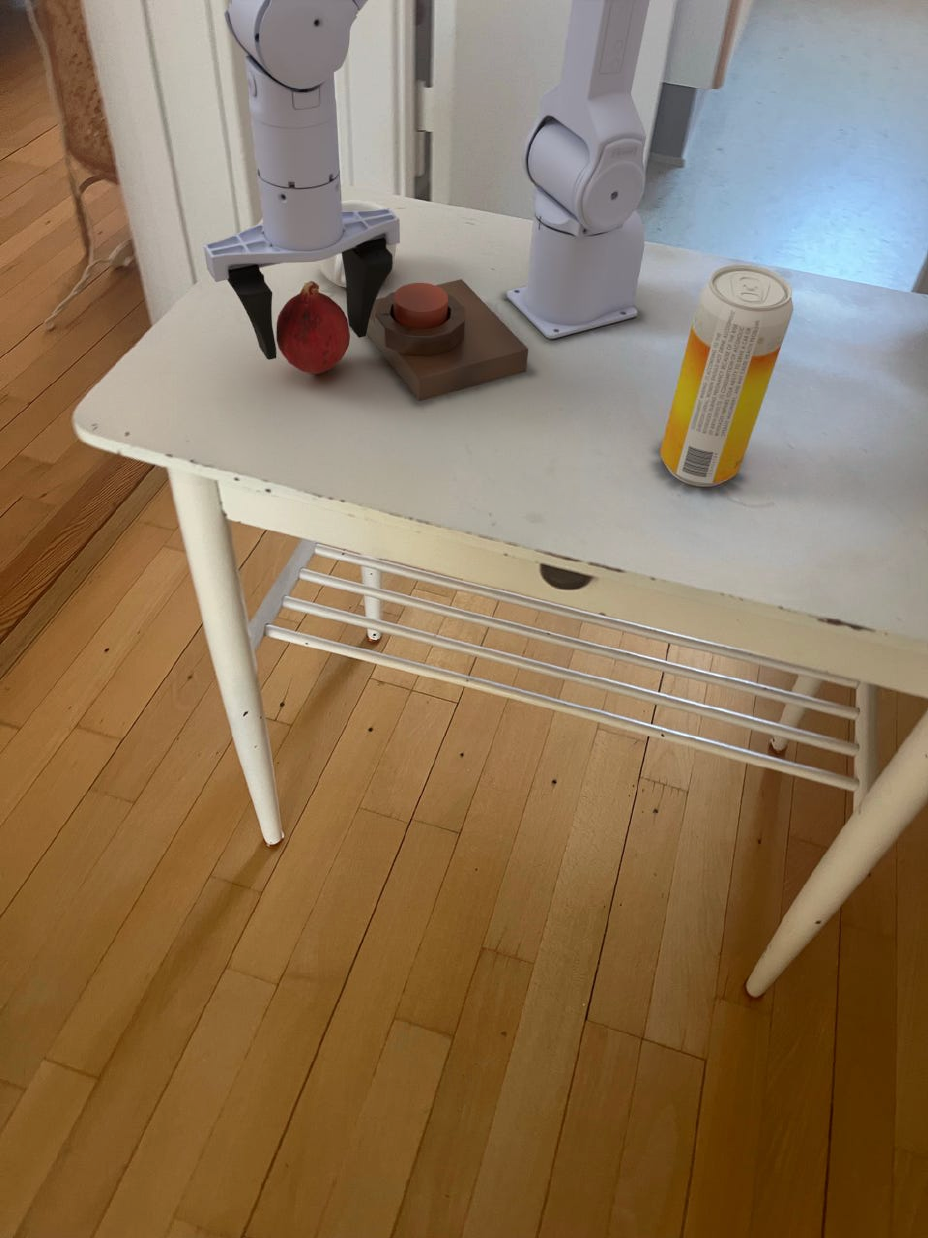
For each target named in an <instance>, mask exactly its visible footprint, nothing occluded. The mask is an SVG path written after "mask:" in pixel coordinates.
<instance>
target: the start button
mask: <svg viewBox="0 0 928 1238" xmlns="http://www.w3.org/2000/svg"><path fill="white" fill-rule="evenodd" d="M436 285H437V284H433V283H428V282H412V283H408V284H404V285H401V286H400V287H399V288H397V289H396V290H395V291H394V292H395V293H394V297H393V299H394V318H395V320H396V322H397V323H399V324H401V325H404V326H406V327H409V328H418V329H429V328H433V327H437V326H441V325H442V324H444V323H445V321H446V319H447V309H448V296H447V294H446V292H445V291H444V290H443V289H441V288H440V287H438V286H436Z"/></svg>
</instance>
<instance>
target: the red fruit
mask: <svg viewBox="0 0 928 1238" xmlns="http://www.w3.org/2000/svg"><path fill="white" fill-rule="evenodd" d="M319 289H320V285H319V284H318V283H316V282H315V281H313V280H310V281H308V282H305V283H304V285H303V286H302V289H300V293H298V294H296V295H294V296H293V297H291V298H290V299H289V300H288V301H287V302H286V303H285V304H284V306H283V307H282V308H281V309H280V312H279V314H278V316H277V320H276V331H275V332H276V337H275V341H276V343H277V346H278V349H279V351H280V353H281V354H282V356H284V358H285V359H286V361H287V362H288V363H289V364H290V365H291V366H293V367H294V368H295V369H298V370H300V371H302V372H304V373H307V374H311V375H320V374H323V373H324V372H326V371H328V370H330V369H332V368H333V367H334V366H335V365H337V364H338V363H339V362H340V361H341V360H342V359H343V357H344V356H345V354H346V352H347V350H348V348H349V346H350V339H351V334H350V326H349V322H348V316H347V314H346V313H345V311H344V309H342V307H341V306H340V305H339V304H338V303H337V302H336V301H335V300H333V299H332V298H331V297H329V296H328V295H326V294H324V293H322V292H320V291H319Z"/></svg>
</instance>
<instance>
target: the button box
mask: <svg viewBox="0 0 928 1238" xmlns="http://www.w3.org/2000/svg"><path fill="white" fill-rule="evenodd" d="M435 285H436V286H438V287H440V288H441V289H443V290H444V291H445V292H446V294H447V296H448V309H447V319H446V321H445V323H444V324H442V325H441V326H437V327H433V328H429V329H418V328H409V327H406V326H404V325H401V324H399V323H397V322H396V320H395V318H394V299H393V297H394V293H395V292H396V291H393V292H390V293H389V294H387V295H386V296H383V297H380V298H376V300H375V302H374V305H373V308H372V312H371V315H370V319H369V323H368V328H367V333H366V336H367V337H368V338H369V340H371V342H372V343H373V344H374V346H376V348H377V349H378V351H379V352H380V353H381V354H382V356H383V357H384V358H385V359H386V361H387V362H388V363H389V365H390V366H391V367H392V369H393V370H394V371H395V372H396V374H397V375H398V376H399V377H400V378H401V380H402V381H403V383H404V384H405V385H406V386H407V387H408V389H409V390H410V391H411V393H412V394H413V395H414V396H415V398H416V399H417V400H418V402H421V401H425V400H428V399H431V398H436V397H439V396H443V395H446V394H449V393H454V392H458V391H460V390H464V389H467V388H472V387H476V386H479V385H483V384H486V383H490V382H493V381H496V380H497V381H498V380H501V379H503V378H507V377H511V376H515V375H518V374H522V373H525V372H527V366H528V357H529V348H528V347H527V346H526V345H525V343H523V342H522V341H521V340H520V339H519V338H518V337H517V336H516V334H515V333H514V332H513V331H512V330H511V329H510V328H509V327H508V326H507V325H506V324H505V323H504V322H503V321H502V320H501V319H500V318H499V317H498V315H496V314H495V312H494V311H493V310H492V309H491V308H490V307H489V306H488V305H487V304H486V303H485V302H484V301H483V300H482V299H481V297H479V296H478V295H477V293H476V292H475V291H474V290H473V289H472V288H471V287H470V286H469V285H468V284H467V283H466V282H465V281H464V280H463V278H461V279H455V280H451V281H447V282H443V283H440V284H435Z"/></svg>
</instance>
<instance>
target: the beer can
mask: <svg viewBox="0 0 928 1238" xmlns="http://www.w3.org/2000/svg"><path fill="white" fill-rule="evenodd" d="M792 296H793V288H792V285H791V284H790V282H788V280H787V279H785V278H784V277H783V276H782V275H780V274H778V273H777V272H774V271H772V270H770V269H767V268H765V267H760V266H757V265H751V264H731V265H726V266H722V267H719V268H718V269H716V270H715V271H713V273H712V274H711V276H710V278H709V280H708V281H707V282H706V283H705V284H704V285H703V287H702V288H701V289H700V292H699V295H698V300H697V303H696V308H695V312H694V316H693V320H692V323H691V327H690V331H689V335H688V339H687V344H686V347H685V351H684V354H683V359H682V362H681V367H680V371H679V375H678V379H677V383H676V387H675V391H674V395H673V399H672V403H671V407H670V411H669V416H668V419H667V422H666V427H665V431H664V435H663V439H662V442H661V447H660V457H661V459H662V461H663V463H664V465H665V467H666V468H667V470H668V471H669V473H670V474H671V475H672V476H673V477H675V478H676V479H677V480H679V481H681V482H682V483H685V484H687V485H689V486H695V487H703V488H704V487H705V488H707V487H708V488H709V487H715V486H718V485H720V484H723V483H725V482H726V481H728V480H730V479H732V478H733V477H735V476H736V475H737V474H738V473H739V471H740V469H741V467H742V463H743V460H744V457H745V455H746V452H747V449H748V446H749V444H750V440H751V437H752V434H753V431H754V429H755V426H756V423H757V419H758V416H759V414H760V411H761V407H762V405H763V402H764V399H765V396H766V392H767V390H768V388H769V384H770V381H771V378H772V375H773V372H774V369H775V366H776V363H777V361H778V357H779V355H780V351H781V349H782V345H783V342H784V340H785V337H786V333H787V330H788V328H789V325H790V321H791V319H792V316H793V312H794V304H793V303H794V302H793V297H792Z"/></svg>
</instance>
